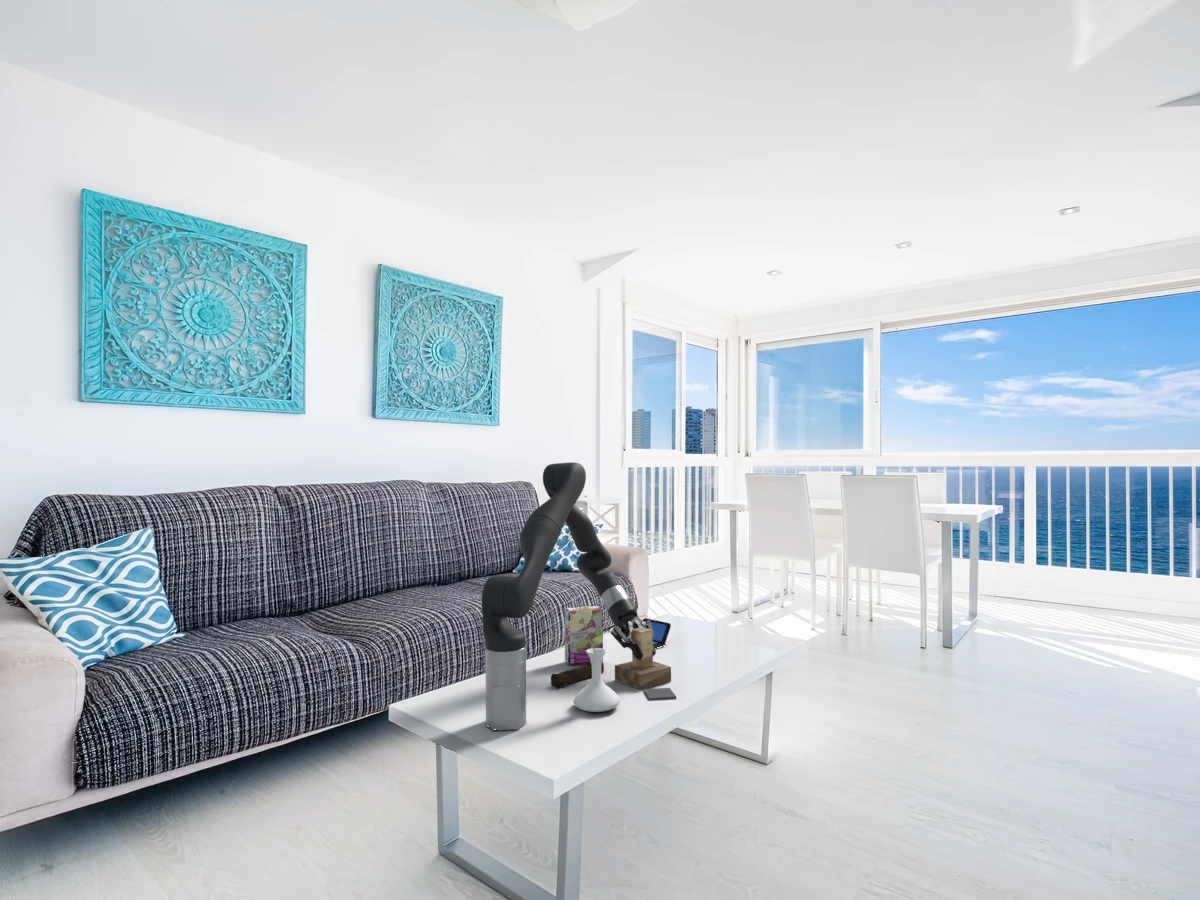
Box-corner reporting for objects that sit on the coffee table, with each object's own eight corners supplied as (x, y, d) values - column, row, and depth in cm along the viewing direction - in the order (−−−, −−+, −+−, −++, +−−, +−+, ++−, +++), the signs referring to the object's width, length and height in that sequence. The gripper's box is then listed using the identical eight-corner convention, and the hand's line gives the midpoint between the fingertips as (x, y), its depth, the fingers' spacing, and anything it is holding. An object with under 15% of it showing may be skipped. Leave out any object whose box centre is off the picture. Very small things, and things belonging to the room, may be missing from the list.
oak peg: (653, 681, 174) (652, 629, 175) (642, 684, 172) (641, 632, 173) (643, 677, 178) (642, 627, 178) (632, 680, 175) (631, 629, 176)
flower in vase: (606, 697, 162) (605, 598, 163) (628, 711, 152) (627, 605, 153) (559, 706, 156) (558, 603, 157) (579, 721, 146) (578, 611, 147)
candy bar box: (568, 666, 190) (568, 610, 190) (564, 661, 194) (563, 607, 195) (604, 662, 193) (603, 608, 194) (599, 658, 198) (598, 605, 199)
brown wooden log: (559, 690, 168) (559, 673, 168) (549, 687, 171) (549, 669, 171) (610, 675, 181) (610, 659, 181) (600, 672, 184) (600, 656, 184)
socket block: (671, 681, 174) (670, 666, 174) (641, 690, 167) (640, 674, 167) (644, 672, 182) (644, 658, 183) (614, 680, 176) (614, 665, 176)
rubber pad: (676, 698, 160) (676, 696, 160) (649, 700, 159) (649, 698, 159) (669, 689, 167) (669, 687, 167) (643, 691, 166) (643, 689, 166)
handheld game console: (623, 645, 214) (622, 622, 215) (644, 639, 222) (643, 617, 222) (651, 651, 206) (651, 628, 206) (672, 645, 213) (671, 623, 214)
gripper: (604, 600, 177) (633, 653, 167) (643, 594, 186) (672, 644, 176) (593, 616, 181) (621, 669, 171) (631, 610, 190) (659, 659, 180)
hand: (647, 656), depth 174 cm, fingers closed on oak peg, 4 cm apart
